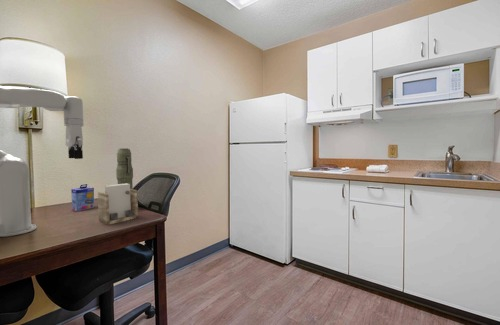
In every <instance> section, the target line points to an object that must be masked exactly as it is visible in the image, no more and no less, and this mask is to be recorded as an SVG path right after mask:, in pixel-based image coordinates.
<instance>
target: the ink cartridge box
mask: <svg viewBox="0 0 500 325" xmlns="http://www.w3.org/2000/svg"><path fill="white" fill-rule="evenodd" d="M70 191H71V210H72V211H75V212H80V211H85V210H90V209H94V208H95V188H94V187H91V186H88V184H87V183H84V184H80V186H79V187H76V188H71V189H70Z"/></svg>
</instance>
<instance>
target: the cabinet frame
mask: <svg viewBox="0 0 500 325" xmlns="http://www.w3.org/2000/svg"><path fill="white" fill-rule="evenodd" d="M138 198H139V197H138V190H137V189H134V188H133V189H130V203H131V210H128V211H125V216H126V217H121V218H118V213H113V214H110V220H109V195H108V194H105V192H102V191H98V192H97V202H98V205H97V207H98V221H99V222H100V223H101V224H102V223H103V224H104V225H106V226H108V225H113V224H117V223H122V222H127V221H130V219H131V220H134V218H135V219H138V218H139V205H138V204H139V203H138V202H139V201H138ZM126 220H127V221H126Z"/></svg>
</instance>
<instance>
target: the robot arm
mask: <svg viewBox="0 0 500 325" xmlns="http://www.w3.org/2000/svg"><path fill="white" fill-rule="evenodd" d="M83 104H84V103H83V99H82V98H81V97H78V96H74V95H73V96H71V95H70V96H69V95H67V96H64V95H63V94H62V93H60V92H57V91H54V90H48V89H47V90H46V89H39V88H29V87H28V88H26V87H16V86H3V85H0V108H2V109H3V108H4V109H5V108H6V109H18V108H27V107H28V108H43V109H45V110H46V111H49V112H63V125H64V126H65V146H66V147H67V149H68V150H67V151H68V159H74V160H82V159H84V155H83V152H84V151H83V145H84V144H83V143H84V141H83V140H84V138H83V128H82V127H84V126H85V125H84V106H83ZM30 198H31V195H30V167H29V165H28V163H27V162H26V161H25V160H24V159H22V158H20V157H16V156H14V155H12V154H10V153H7V152H6V151H3V150H1V149H0V237H4V238H5V237H13V236H17V235H22V234H26V233H29V232H33V231H34V230H37V225H36V224H33V223H32V211H31V199H30Z"/></svg>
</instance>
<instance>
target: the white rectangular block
mask: <svg viewBox="0 0 500 325" xmlns="http://www.w3.org/2000/svg"><path fill="white" fill-rule="evenodd" d="M104 193H105V194H108V195H109V220H110V214H113V213H118V218H121V217H126V216H125V211H128V210H131V203H130V184H127V183H125V184H118V183H116V184H110V185H104Z"/></svg>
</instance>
